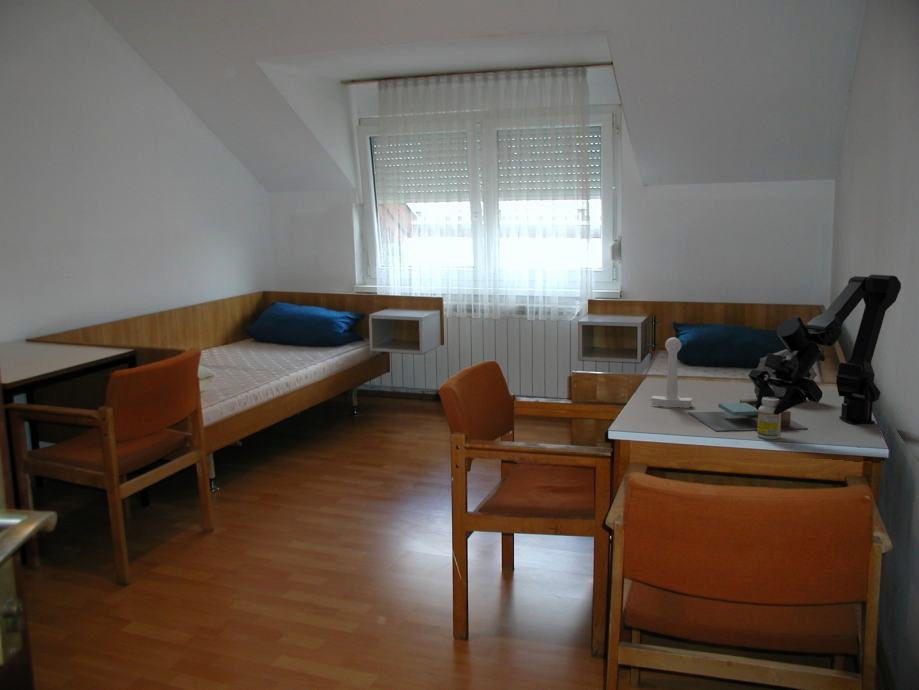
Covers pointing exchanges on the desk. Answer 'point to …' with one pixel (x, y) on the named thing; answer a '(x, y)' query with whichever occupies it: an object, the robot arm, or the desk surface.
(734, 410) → the trapdoor
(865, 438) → the desk surface
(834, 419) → the desk surface
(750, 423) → the dark grey flat mat
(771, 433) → the supplement bottle
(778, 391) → the fossil
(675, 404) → the joystick
